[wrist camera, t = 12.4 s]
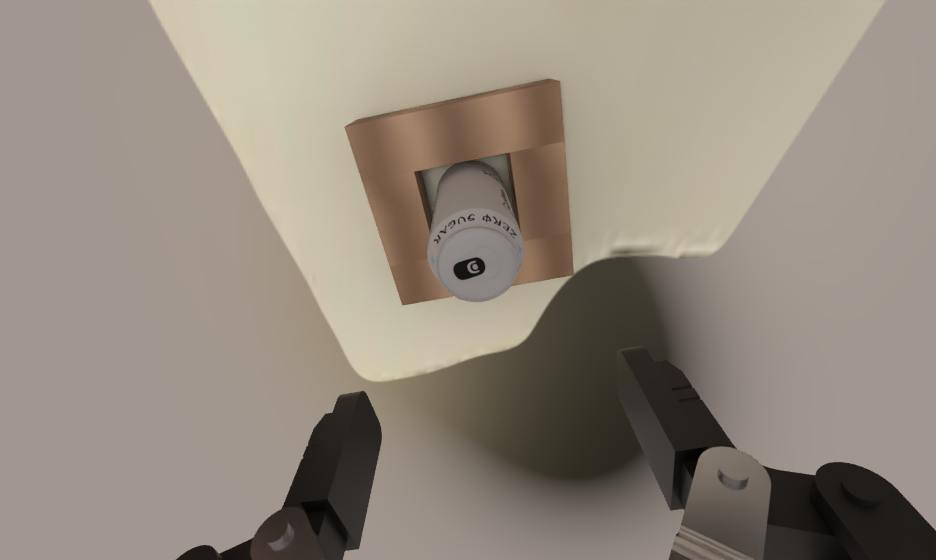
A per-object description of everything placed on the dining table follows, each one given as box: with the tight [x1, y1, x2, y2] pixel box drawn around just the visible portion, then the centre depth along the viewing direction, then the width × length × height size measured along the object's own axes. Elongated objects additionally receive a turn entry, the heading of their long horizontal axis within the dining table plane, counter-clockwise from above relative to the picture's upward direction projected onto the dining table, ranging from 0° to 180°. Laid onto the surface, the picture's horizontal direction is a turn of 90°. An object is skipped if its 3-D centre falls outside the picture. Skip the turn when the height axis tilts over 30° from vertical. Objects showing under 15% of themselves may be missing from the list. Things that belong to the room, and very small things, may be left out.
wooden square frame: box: [345, 79, 574, 305], centre depth 35 cm, size 16×16×4 cm
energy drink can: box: [427, 161, 525, 302], centre depth 30 cm, size 6×6×15 cm
